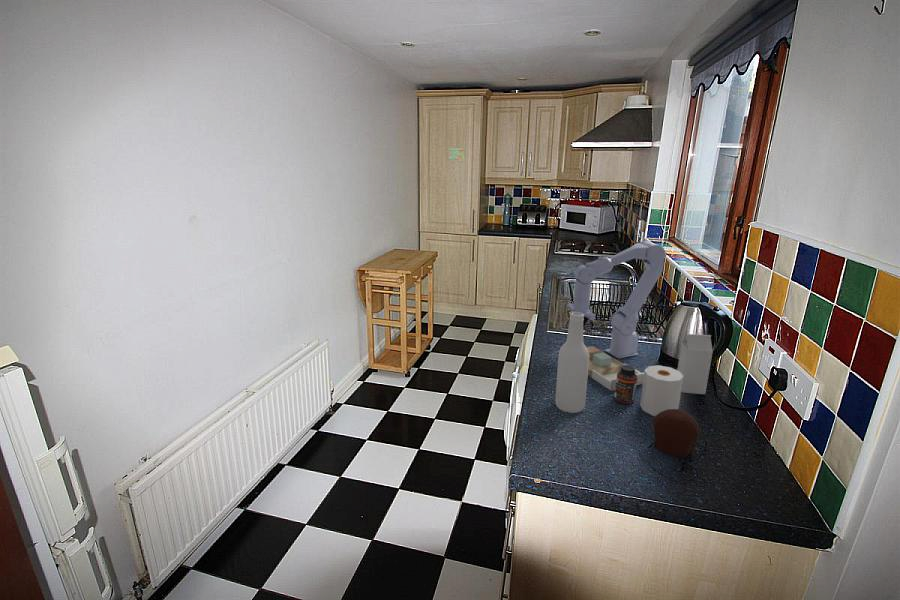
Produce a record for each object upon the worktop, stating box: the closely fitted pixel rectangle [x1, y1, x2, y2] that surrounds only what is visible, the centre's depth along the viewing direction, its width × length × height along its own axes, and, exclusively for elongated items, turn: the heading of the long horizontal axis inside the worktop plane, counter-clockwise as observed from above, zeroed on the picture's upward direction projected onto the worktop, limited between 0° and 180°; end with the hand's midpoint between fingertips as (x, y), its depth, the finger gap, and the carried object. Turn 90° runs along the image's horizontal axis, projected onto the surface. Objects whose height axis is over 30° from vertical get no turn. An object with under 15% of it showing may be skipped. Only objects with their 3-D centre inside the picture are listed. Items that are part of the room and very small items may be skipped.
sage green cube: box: [592, 352, 613, 367], centre depth 160 cm, size 4×4×3 cm
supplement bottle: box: [613, 364, 637, 405], centre depth 139 cm, size 6×6×11 cm
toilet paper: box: [639, 364, 683, 417], centre depth 134 cm, size 10×10×12 cm
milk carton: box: [676, 333, 713, 395], centre depth 144 cm, size 7×7×19 cm
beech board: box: [588, 350, 625, 379], centre depth 163 cm, size 14×14×2 cm
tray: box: [591, 363, 644, 392], centre depth 152 cm, size 14×10×4 cm
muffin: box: [652, 408, 702, 458], centre depth 116 cm, size 12×11×10 cm
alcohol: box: [554, 312, 589, 414], centre depth 133 cm, size 9×9×30 cm
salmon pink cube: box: [586, 346, 602, 360], centre depth 165 cm, size 4×4×3 cm
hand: (579, 332), depth 171 cm, fingers closed
